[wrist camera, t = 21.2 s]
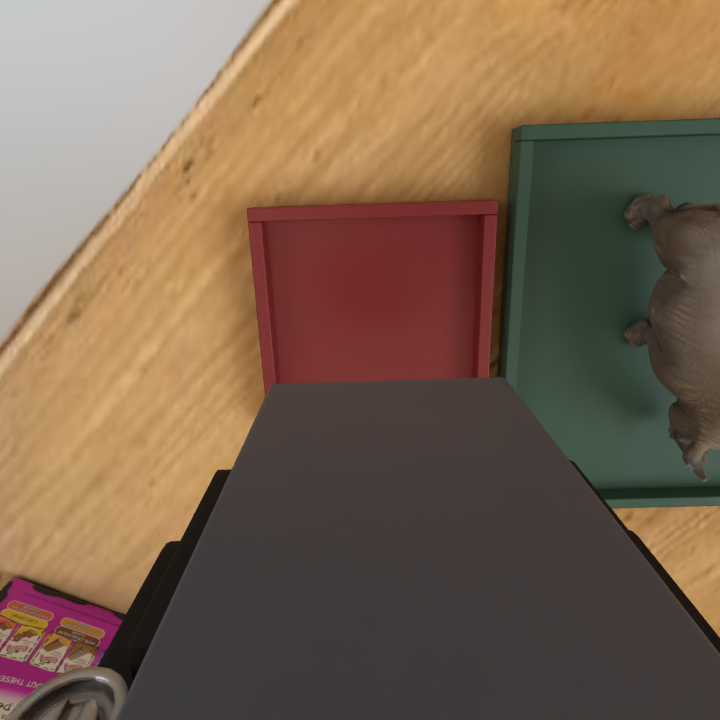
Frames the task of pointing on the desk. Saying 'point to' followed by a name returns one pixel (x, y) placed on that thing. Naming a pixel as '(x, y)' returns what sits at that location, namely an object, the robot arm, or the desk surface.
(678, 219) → the rhino figurine
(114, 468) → the desk surface
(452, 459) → the block
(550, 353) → the green tray
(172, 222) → the desk surface
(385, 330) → the burgundy tray
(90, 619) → the candy bar box
